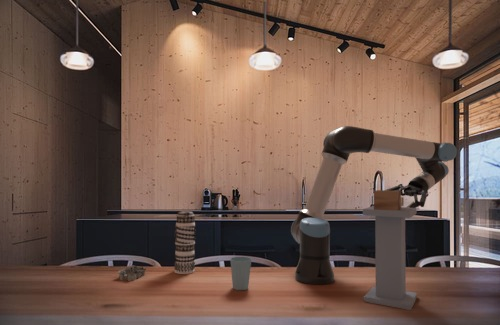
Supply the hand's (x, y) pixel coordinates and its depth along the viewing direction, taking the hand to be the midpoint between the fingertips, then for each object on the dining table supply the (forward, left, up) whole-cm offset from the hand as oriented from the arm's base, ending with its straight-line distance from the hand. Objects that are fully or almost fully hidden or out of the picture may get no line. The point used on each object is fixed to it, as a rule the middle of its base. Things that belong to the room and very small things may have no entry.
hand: (389, 207), depth 149 cm
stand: (+6, -32, -28) cm, 43 cm away
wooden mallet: (+6, -26, +2) cm, 27 cm away
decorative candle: (-74, -43, -28) cm, 90 cm away
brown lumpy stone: (-85, -61, -29) cm, 109 cm away
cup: (-42, -49, -28) cm, 71 cm away
